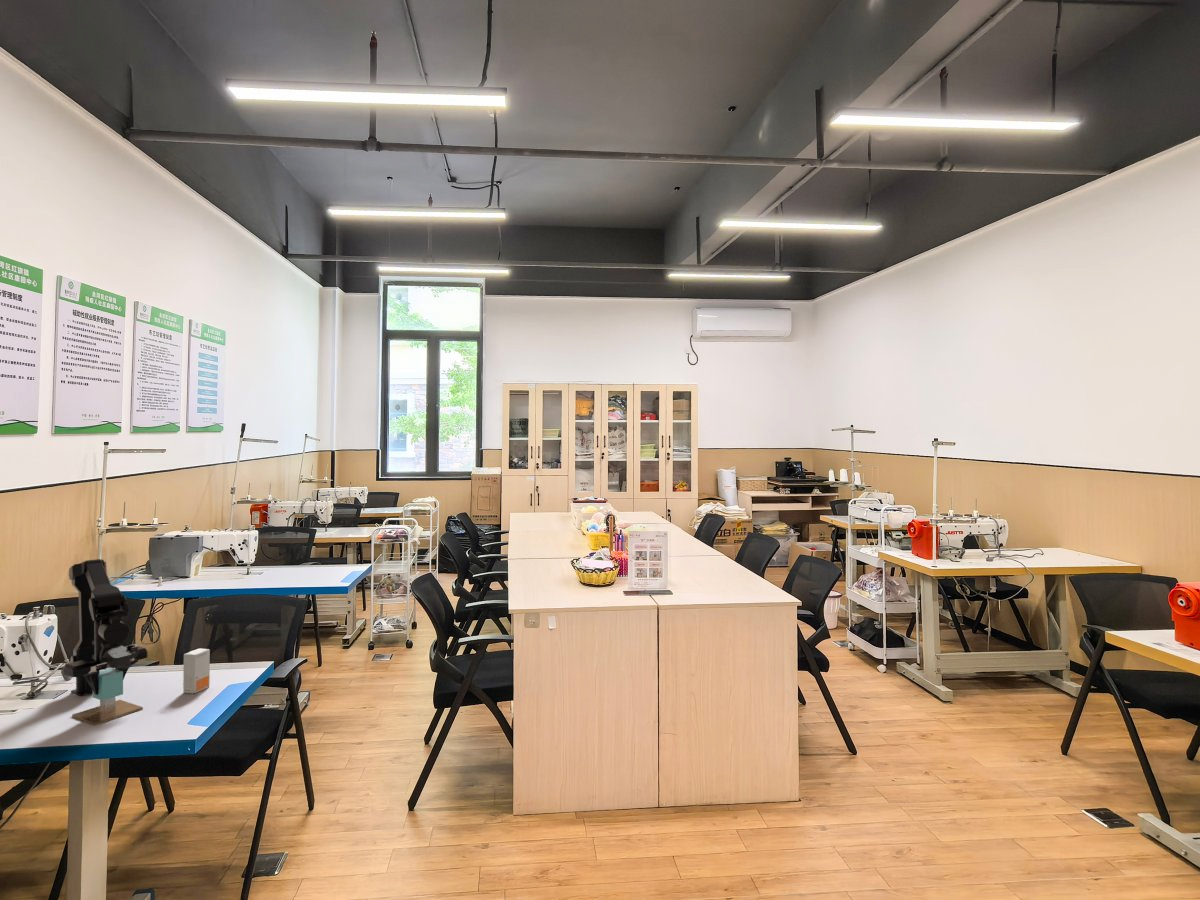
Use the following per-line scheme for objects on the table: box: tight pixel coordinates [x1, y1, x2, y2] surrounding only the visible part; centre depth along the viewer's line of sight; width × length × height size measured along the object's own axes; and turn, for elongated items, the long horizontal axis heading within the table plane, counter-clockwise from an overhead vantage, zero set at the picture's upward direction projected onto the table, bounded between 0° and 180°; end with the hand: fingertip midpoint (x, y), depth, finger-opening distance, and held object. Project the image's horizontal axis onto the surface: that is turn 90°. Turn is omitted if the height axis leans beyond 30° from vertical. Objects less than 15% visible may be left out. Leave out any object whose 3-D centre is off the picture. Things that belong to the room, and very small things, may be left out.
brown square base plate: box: [71, 697, 144, 726], centre depth 184 cm, size 12×12×7 cm
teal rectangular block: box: [91, 668, 124, 701], centre depth 184 cm, size 5×5×7 cm
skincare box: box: [182, 647, 211, 694], centre depth 201 cm, size 6×4×12 cm
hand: (107, 691), depth 184 cm, fingers closed on teal rectangular block, 5 cm apart
